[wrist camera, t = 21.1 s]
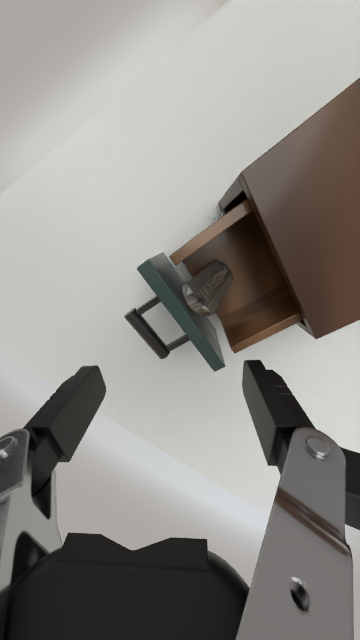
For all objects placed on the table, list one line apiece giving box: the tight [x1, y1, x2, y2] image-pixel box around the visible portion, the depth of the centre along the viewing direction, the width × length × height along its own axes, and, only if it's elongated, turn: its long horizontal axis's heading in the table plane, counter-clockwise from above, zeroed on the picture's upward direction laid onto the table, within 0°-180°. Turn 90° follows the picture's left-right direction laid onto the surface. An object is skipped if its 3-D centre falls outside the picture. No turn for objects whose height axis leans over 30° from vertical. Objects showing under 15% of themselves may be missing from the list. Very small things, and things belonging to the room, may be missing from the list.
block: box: [182, 259, 234, 316], centre depth 17 cm, size 4×6×2 cm
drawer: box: [124, 198, 303, 372], centre depth 17 cm, size 18×11×7 cm, turn 125°
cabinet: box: [218, 78, 360, 339], centre depth 14 cm, size 15×13×9 cm
